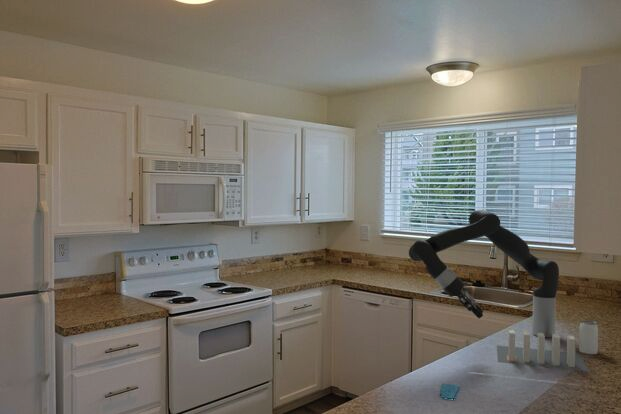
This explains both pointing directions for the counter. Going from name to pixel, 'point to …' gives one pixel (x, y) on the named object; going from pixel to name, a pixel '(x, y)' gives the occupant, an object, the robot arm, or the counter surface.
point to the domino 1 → (511, 345)
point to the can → (588, 337)
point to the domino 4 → (555, 349)
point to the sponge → (449, 391)
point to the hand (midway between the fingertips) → (481, 315)
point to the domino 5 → (570, 351)
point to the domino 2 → (526, 346)
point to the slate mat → (503, 357)
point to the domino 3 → (541, 348)
